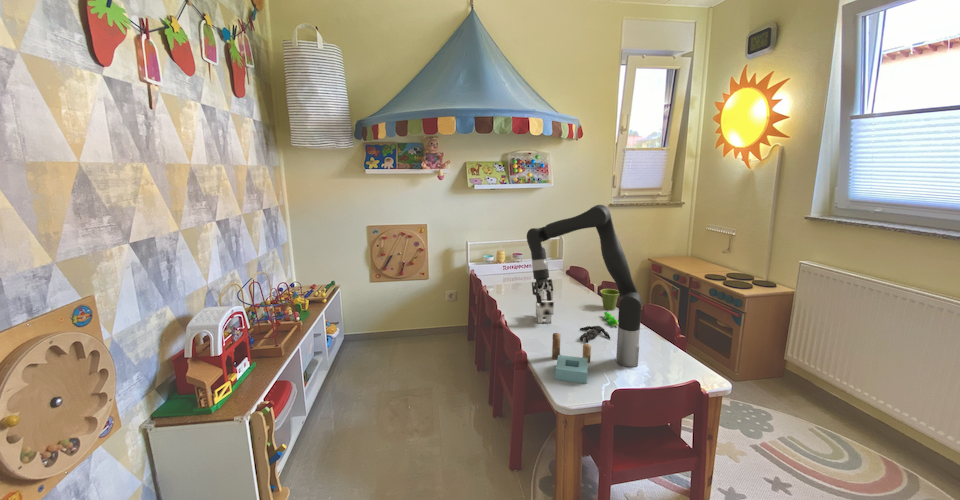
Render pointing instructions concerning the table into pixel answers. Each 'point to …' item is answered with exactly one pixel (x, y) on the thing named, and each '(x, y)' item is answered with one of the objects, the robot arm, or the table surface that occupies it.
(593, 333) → the dark grey sprawling piece
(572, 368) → the hole block
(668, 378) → the table surface
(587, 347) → the short pin
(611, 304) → the plant pot
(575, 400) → the table surface
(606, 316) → the green lumpy elongated piece
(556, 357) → the long pin
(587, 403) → the table surface
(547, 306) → the toy llama
